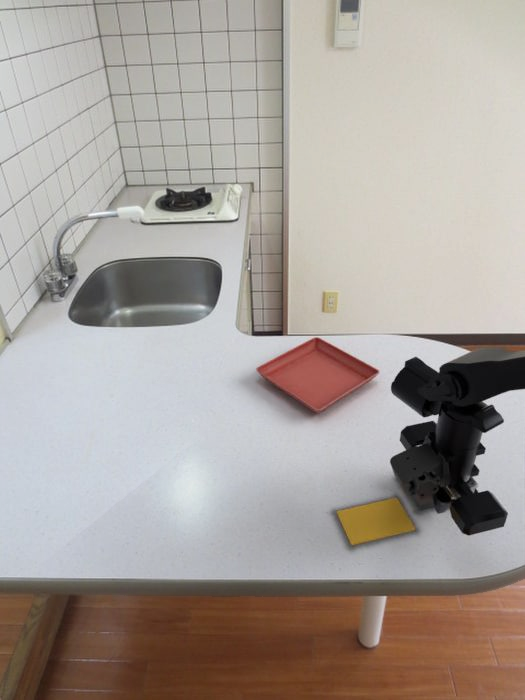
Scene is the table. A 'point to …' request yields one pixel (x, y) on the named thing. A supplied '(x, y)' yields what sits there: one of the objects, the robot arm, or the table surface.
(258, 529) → the table surface
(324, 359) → the plant saucer
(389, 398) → the table surface
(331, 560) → the table surface
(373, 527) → the cloth
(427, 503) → the brown rectangular block
